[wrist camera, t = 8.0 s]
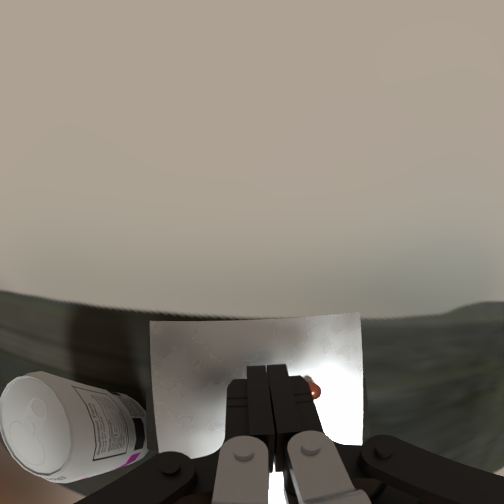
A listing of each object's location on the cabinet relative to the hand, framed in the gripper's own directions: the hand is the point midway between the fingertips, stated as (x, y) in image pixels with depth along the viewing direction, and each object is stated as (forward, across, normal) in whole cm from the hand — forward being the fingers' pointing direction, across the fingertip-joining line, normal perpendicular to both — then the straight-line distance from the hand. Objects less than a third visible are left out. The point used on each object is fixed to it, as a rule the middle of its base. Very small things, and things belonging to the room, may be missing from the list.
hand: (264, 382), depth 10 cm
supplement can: (+11, +14, +16) cm, 24 cm away
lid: (+4, 0, +7) cm, 8 cm away
